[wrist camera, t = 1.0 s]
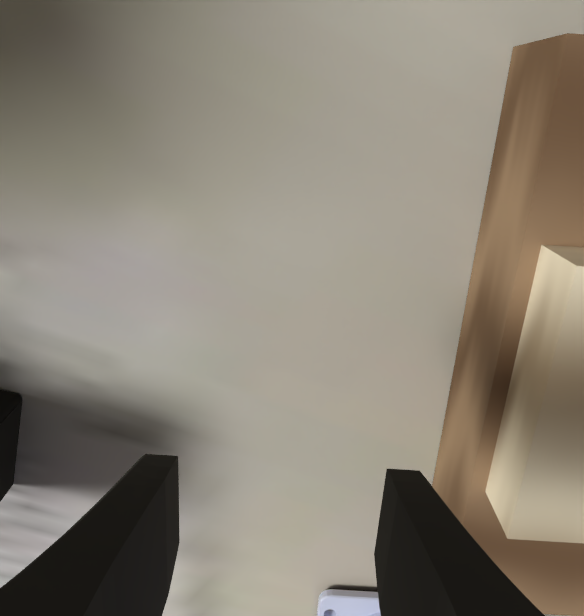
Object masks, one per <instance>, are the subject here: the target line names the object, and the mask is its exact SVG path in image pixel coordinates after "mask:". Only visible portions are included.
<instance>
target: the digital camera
mask: <svg viewBox="0 0 584 616" xmlns="http://www.w3.org/2000/svg"><path fill="white" fill-rule="evenodd" d="M21 400H22V397H21V395H20V394H16V393H12V392H8V391H4V390H0V501H1V500H2V498H3V497H4V496H5V494H6V493H7V492H8V490H9V489H10V488H11V486H12V485H13V481H14V471H15V462H16V453H17V443H18V434H19V425H20V415H21V406H22V401H21ZM20 401H21V402H20ZM14 408H15V409H14ZM13 409H14V410H13ZM12 410H13V411H12ZM11 411H12V412H11ZM10 412H11V413H10ZM9 413H10V414H9ZM8 414H9V415H8Z"/></svg>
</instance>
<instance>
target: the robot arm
mask: <svg viewBox="0 0 584 616" xmlns="http://www.w3.org/2000/svg"><path fill="white" fill-rule="evenodd" d="M178 546H179V487H178V456H168V455H152V454H145V455H144V456H143V457H142V458H140V459H139V460H138V461H137V462H136V463H135V464H134V465H133V466H132V468H131V469H130V470H129V471H128V472H127V473H126V474H125V475H124V476H123V477H122V478H121V479H120V480H119V481H118V482H117V483H116V484H115V485H114V486H113V487H112V488H111V489H110V490H109V491H108V492H107V493H106V494H105V495H104V496H103V497H102V498H101V499H100V500H99V501H98V502H97V503H96V504H95V505H94V506H93V507H92V508H91V509H90V510H89V511H88V512H87V513H86V514H85V515H84V516H83V517H82V518H81V519H80V520H79V521H78V522H77V523H75V524H74V525H73V526H72V527H71V528H70V529H69V530H68V531H67V532H66V533H65V534H64V535H63V536H62V537H60V538H59V539H58V540H57V541H56V542H55V543H54V544H52V545H51V546H50V547H49V548H48V549H47V550H45V551H44V552H43V553H42V554H41V555H40V556H39V557H37V558H36V559H35V560H34V561H33V562H32V563H31V564H29V565H28V566H27V567H26V568H25V569H24V570H22V571H21V572H20V573H19V574H17V575H16V576H15V577H14V578H13V579H11V580H10V581H9V582H8V583H6V584H5V585H4V586H3V587H1V588H0V616H162V613H163V610H164V607H165V604H166V600H167V597H168V593H169V589H170V584H171V580H172V575H173V570H174V566H175V561H176V556H177V551H178ZM374 555H375V566H376V578H377V588H378V592H369V591H352V590H336V589H329V590H325V591H323V592H322V593H321V594H320V596H319V600H318V610H317V616H545V615H544V614H543V613H542V612H541V611H540V610H539V609H538V608H536V607H535V606H534V604H533V603H532V602H531V601H530V600H529V599H528V598H527V597H526V596H525V595H524V594H523V593H522V592H521V591H520V590H519V589H518V588H517V587H516V586H515V585H514V584H513V583H512V582H511V580H510V579H509V578H508V577H507V576H506V575H505V574H504V573H503V572H502V571H501V570H500V568H499V567H498V566H497V565H496V564H495V563H494V562H493V561H492V559H491V558H490V557H489V556H488V555H487V554H486V552H485V551H484V550H483V549H482V548H481V547H480V545H479V544H478V543H477V542H476V541H475V540H474V538H473V537H472V536H471V535H470V534H469V532H468V531H467V530H466V529H465V528H464V526H463V525H462V524H461V523H460V521H459V520H458V519H457V518H456V516H455V515H454V514H453V513H452V511H451V510H450V509H449V508H448V506H447V505H446V504H445V502H444V501H443V500H442V499H441V497H440V496H439V495H438V493H437V492H436V491H435V490H434V488H433V487H432V486H431V484H430V483H429V482H428V481H427V479H426V478H425V477H424V476H423V474H422V473H421V472H420V471H415V470H398V469H387V472H386V478H385V485H384V492H383V499H382V506H381V512H380V519H379V526H378V533H377V540H376V546H375V553H374ZM329 609H331V610H329Z"/></svg>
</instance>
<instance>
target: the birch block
mask: <svg viewBox="0 0 584 616" xmlns="http://www.w3.org/2000/svg"><path fill="white" fill-rule="evenodd" d="M485 492H486V494H487V496H488V498H489V501H490V503H491V505H492V507H493V509H494V511H495V513H496V515H497V518H498V520H499V522H500V524H501V526H502V528H503V530H504V532H505V535H506V537H507V539H518V540H535V541H551V542H568V543H584V247H570V246H554V245H541V249H540V253H539V258H538V262H537V267H536V271H535V275H534V280H533V284H532V288H531V293H530V297H529V302H528V306H527V310H526V315H525V319H524V324H523V328H522V332H521V337H520V341H519V346H518V350H517V354H516V359H515V363H514V368H513V372H512V376H511V381H510V385H509V390H508V394H507V398H506V403H505V407H504V412H503V416H502V420H501V425H500V429H499V434H498V438H497V442H496V447H495V451H494V456H493V460H492V464H491V469H490V473H489V478H488V482H487V486H486V491H485Z"/></svg>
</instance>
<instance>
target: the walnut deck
mask: <svg viewBox="0 0 584 616" xmlns="http://www.w3.org/2000/svg"><path fill="white" fill-rule="evenodd" d="M541 245H554V246H570V247H584V34H569V33H567V34H563V35H559V36H555V37H551V38H547V39H543V40H539V41H535V42H531V43H527V44H523V45H519V46H515V47H513V52H512V57H511V62H510V68H509V73H508V79H507V84H506V90H505V95H504V100H503V106H502V111H501V117H500V122H499V127H498V133H497V138H496V144H495V149H494V154H493V160H492V165H491V171H490V176H489V182H488V187H487V192H486V198H485V203H484V209H483V214H482V219H481V225H480V230H479V236H478V241H477V246H476V252H475V257H474V263H473V268H472V273H471V279H470V284H469V290H468V295H467V301H466V306H465V311H464V317H463V322H462V328H461V333H460V338H459V344H458V349H457V355H456V360H455V365H454V371H453V376H452V382H451V387H450V393H449V398H448V403H447V409H446V414H445V420H444V425H443V430H442V436H441V441H440V447H439V452H438V457H437V463H436V468H435V474H434V479H433V484H432V487H433V488H434V490H435V491H436V492H437V493H438V495H439V496H440V497H441V499H442V500H443V501H444V502H445V504H446V505H447V506H448V508H449V509H450V510H451V511H452V513H453V514H454V515H455V516H456V518H457V519H458V520H459V521H460V523H461V524H462V525H463V526H464V528H465V529H466V530H467V531H468V532H469V534H470V535H471V536H472V537H473V538H474V540H475V541H476V542H477V543H478V544H479V545H480V547H481V548H482V549H483V550H484V551H485V552H486V554H487V555H488V556H489V557H490V558H491V559H492V561H493V562H494V563H495V564H496V565H497V566H498V567H499V568H500V570H501V571H502V572H503V573H504V574H505V575H506V576H507V577H508V578H509V579H510V580H511V582H512V583H513V584H514V585H515V586H516V587H517V588H518V589H519V590H520V591H521V592H522V593H523V594H524V595H525V596H526V597H527V598H528V599H529V600H530V601H531V602H532V603H533V604H534V606H535V607H536V608H538V609H539V610H540V611H541V612H542V613H543V614H554V615H571V616H584V543H568V542H551V541H535V540H518V539H507V537H506V535H505V532H504V530H503V528H502V526H501V524H500V522H499V520H498V518H497V515H496V513H495V511H494V509H493V507H492V505H491V503H490V501H489V498H488V496H487V494H486V492H485V491H486V486H487V482H488V478H489V473H490V469H491V464H492V460H493V456H494V451H495V447H496V442H497V438H498V434H499V429H500V425H501V420H502V416H503V412H504V407H505V403H506V398H507V394H508V390H509V385H510V381H511V376H512V372H513V368H514V363H515V359H516V354H517V350H518V346H519V341H520V337H521V332H522V328H523V324H524V319H525V315H526V310H527V306H528V302H529V297H530V293H531V288H532V284H533V280H534V275H535V271H536V267H537V262H538V258H539V253H540V249H541Z"/></svg>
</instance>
